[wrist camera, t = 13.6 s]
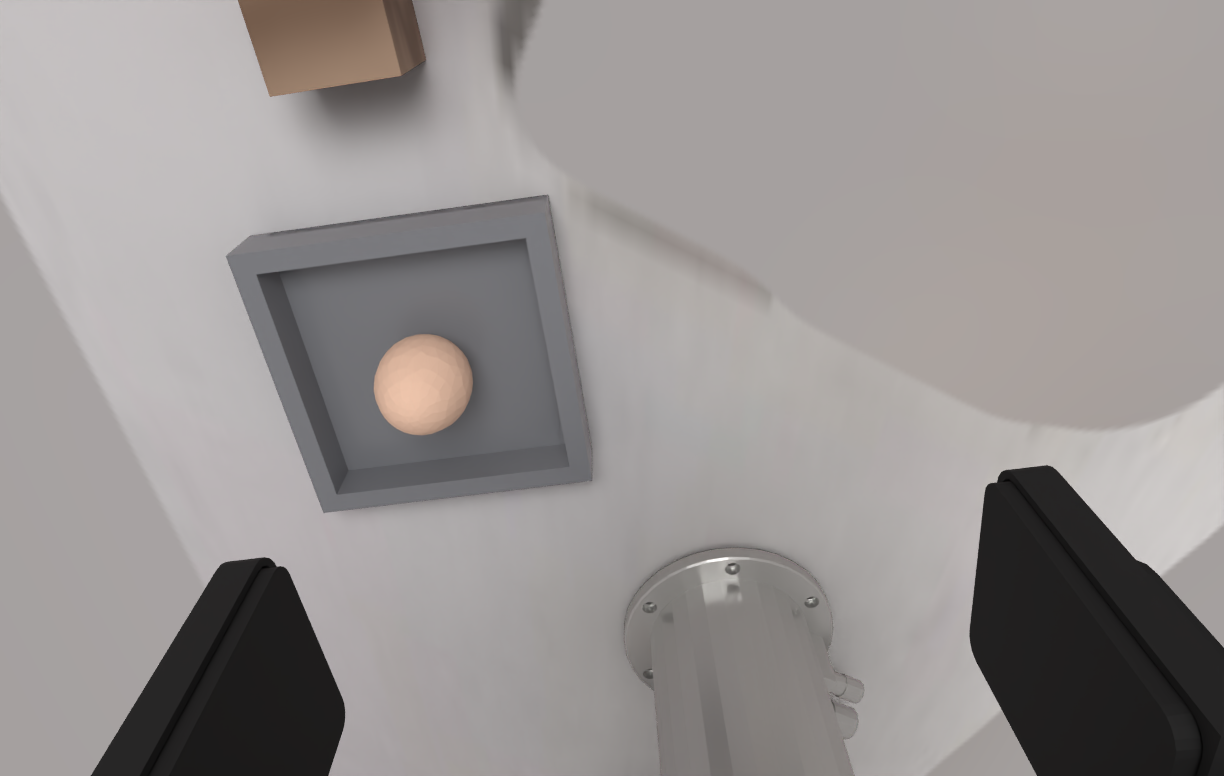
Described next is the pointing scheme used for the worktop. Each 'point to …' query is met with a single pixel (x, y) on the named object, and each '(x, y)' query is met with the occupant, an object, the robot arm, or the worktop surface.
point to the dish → (409, 305)
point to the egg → (423, 384)
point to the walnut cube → (331, 41)
